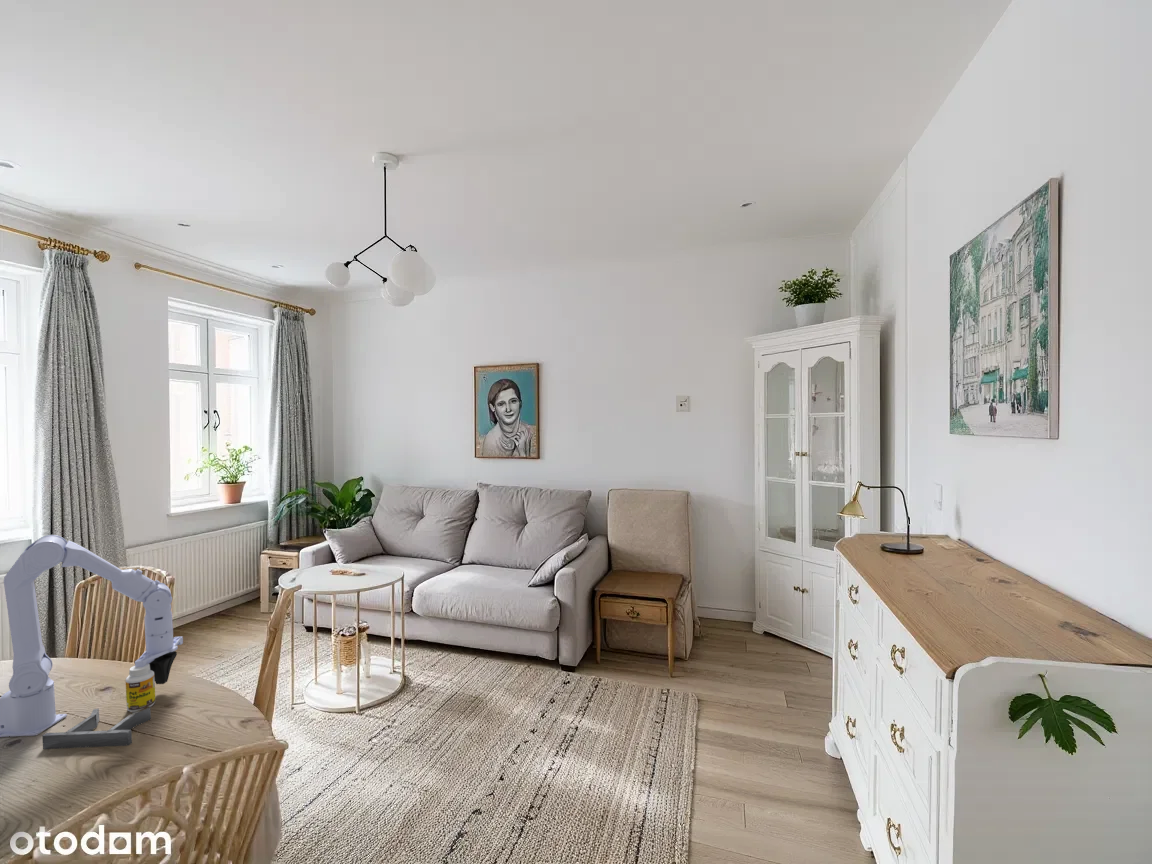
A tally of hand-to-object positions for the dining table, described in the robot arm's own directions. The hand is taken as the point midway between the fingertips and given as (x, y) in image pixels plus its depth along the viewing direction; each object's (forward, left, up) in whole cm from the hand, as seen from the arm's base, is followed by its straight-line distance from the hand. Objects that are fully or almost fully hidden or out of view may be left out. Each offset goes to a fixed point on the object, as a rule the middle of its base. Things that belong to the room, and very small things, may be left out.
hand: (161, 682), depth 141 cm
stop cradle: (0, -18, -2) cm, 18 cm away
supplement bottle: (0, -7, -3) cm, 8 cm away
